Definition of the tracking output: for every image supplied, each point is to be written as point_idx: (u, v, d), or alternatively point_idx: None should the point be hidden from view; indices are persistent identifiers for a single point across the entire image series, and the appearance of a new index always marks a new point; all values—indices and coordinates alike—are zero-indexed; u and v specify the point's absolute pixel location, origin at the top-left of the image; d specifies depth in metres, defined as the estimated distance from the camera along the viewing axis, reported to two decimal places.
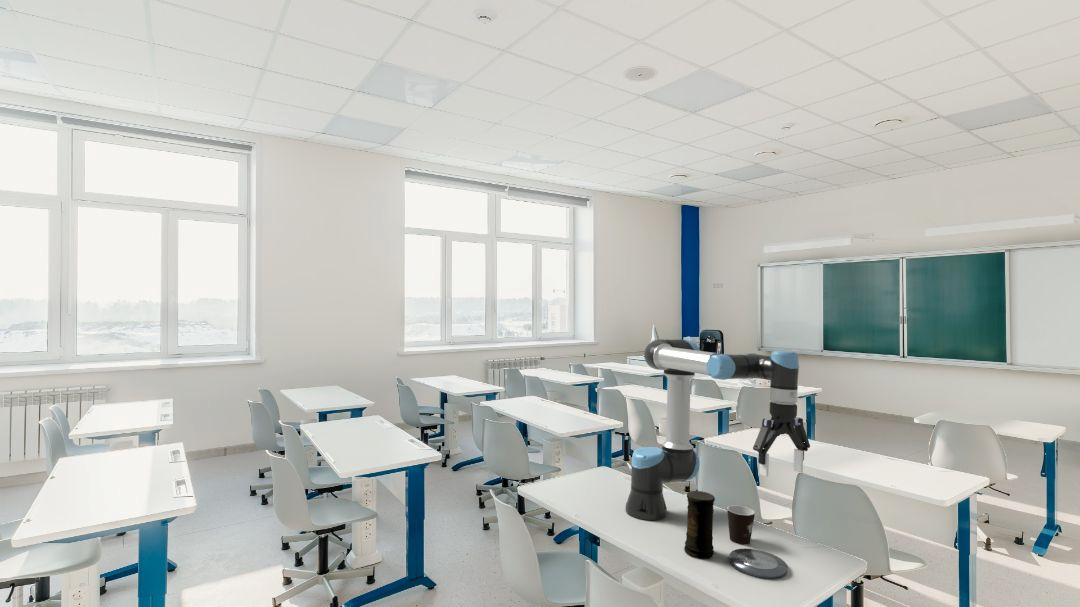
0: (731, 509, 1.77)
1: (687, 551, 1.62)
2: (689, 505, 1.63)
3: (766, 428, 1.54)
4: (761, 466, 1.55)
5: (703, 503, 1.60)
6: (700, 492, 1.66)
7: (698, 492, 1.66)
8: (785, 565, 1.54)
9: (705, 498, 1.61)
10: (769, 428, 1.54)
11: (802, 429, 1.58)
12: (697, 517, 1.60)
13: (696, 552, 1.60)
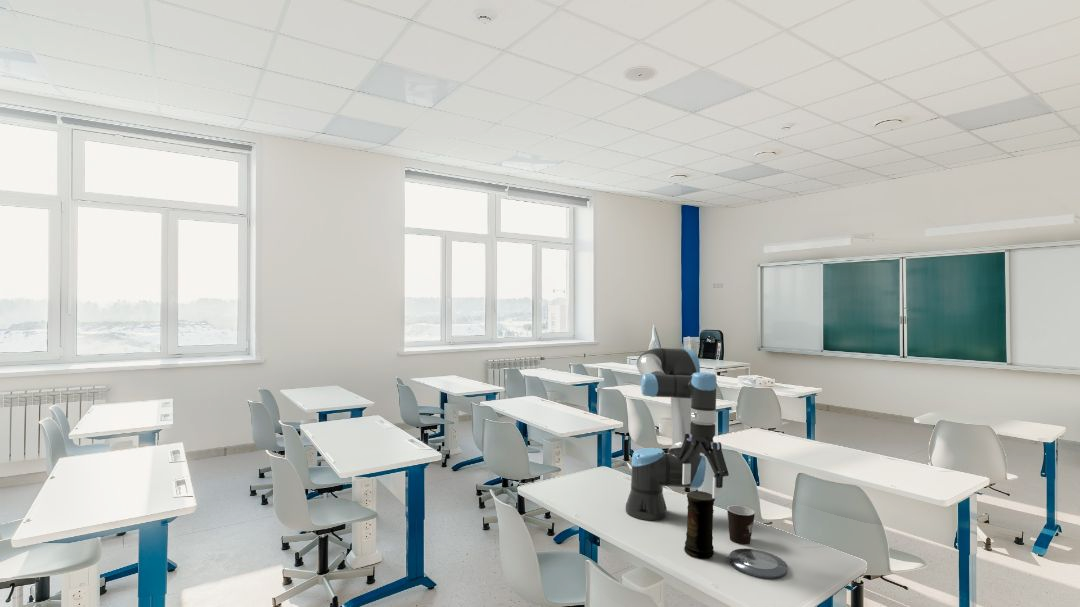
0: (731, 509, 1.77)
1: (687, 551, 1.62)
2: (689, 505, 1.63)
3: None
4: None
5: (703, 503, 1.60)
6: (700, 492, 1.66)
7: (698, 492, 1.66)
8: (785, 565, 1.54)
9: (705, 498, 1.61)
10: (685, 441, 1.69)
11: (714, 454, 1.57)
12: (697, 517, 1.60)
13: (696, 552, 1.60)
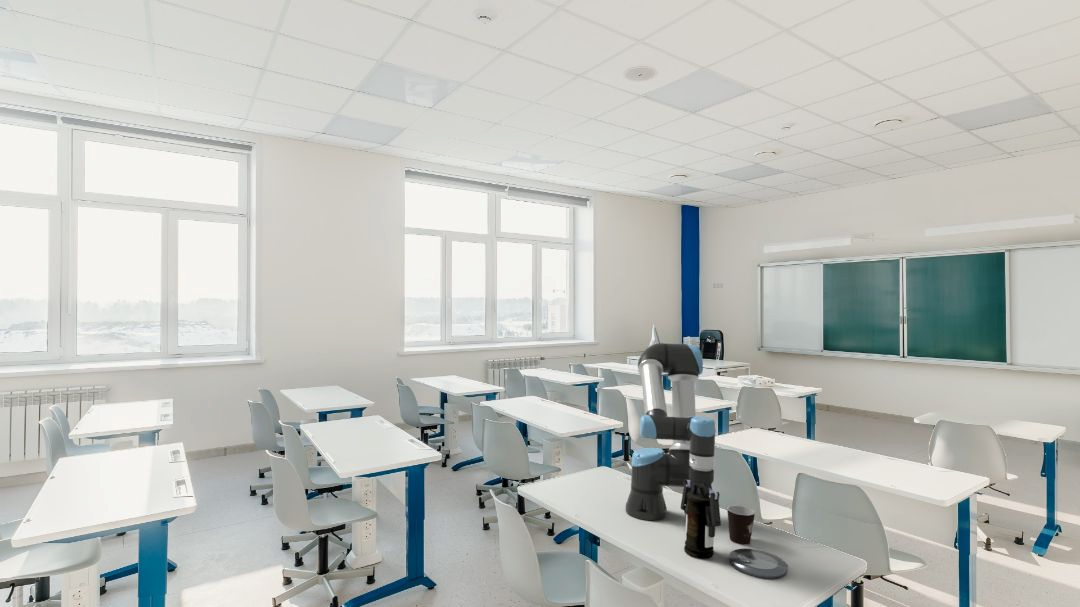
0: (731, 509, 1.77)
1: (687, 551, 1.62)
2: (689, 505, 1.63)
3: None
4: None
5: (703, 503, 1.60)
6: None
7: None
8: (785, 565, 1.54)
9: (705, 498, 1.61)
10: (684, 488, 1.69)
11: (711, 503, 1.58)
12: (697, 517, 1.60)
13: (696, 552, 1.60)
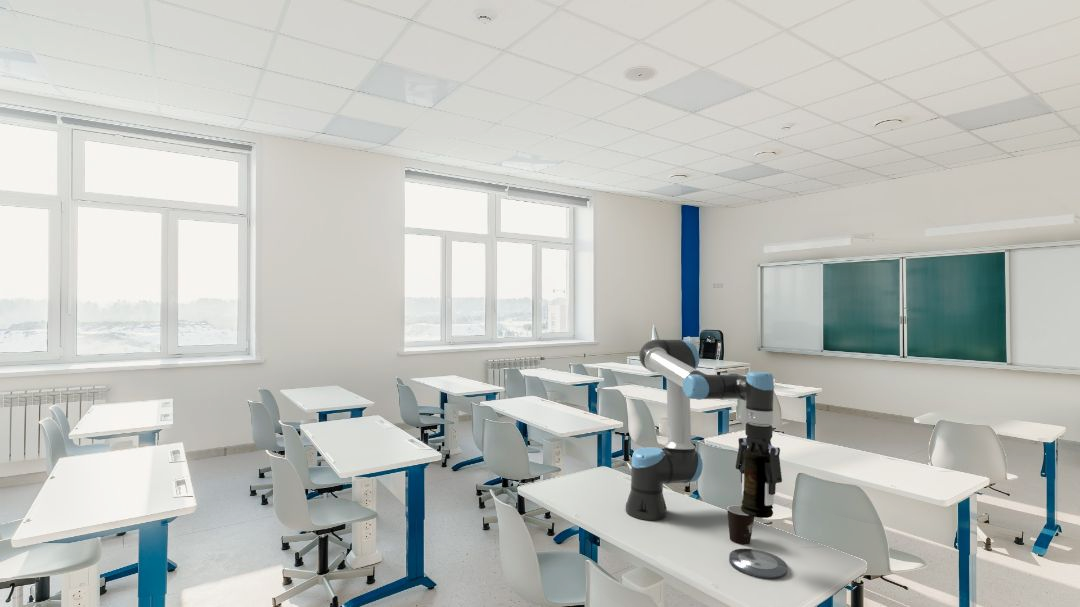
0: (731, 509, 1.77)
1: (745, 510, 1.55)
2: (746, 462, 1.56)
3: None
4: None
5: (762, 459, 1.53)
6: None
7: None
8: (785, 565, 1.54)
9: (764, 454, 1.54)
10: (740, 446, 1.62)
11: (771, 459, 1.51)
12: (756, 474, 1.53)
13: (755, 510, 1.53)
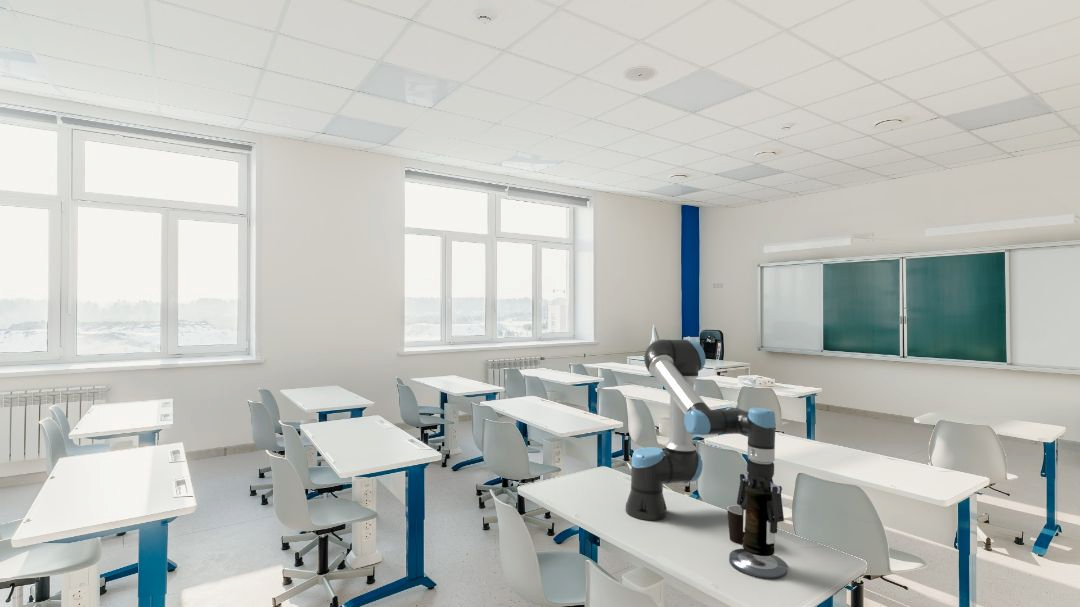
0: (731, 509, 1.77)
1: (746, 548, 1.55)
2: (748, 500, 1.56)
3: None
4: None
5: (764, 497, 1.53)
6: None
7: None
8: (785, 565, 1.54)
9: (766, 492, 1.54)
10: (741, 482, 1.62)
11: (773, 498, 1.51)
12: (757, 512, 1.53)
13: (757, 548, 1.53)
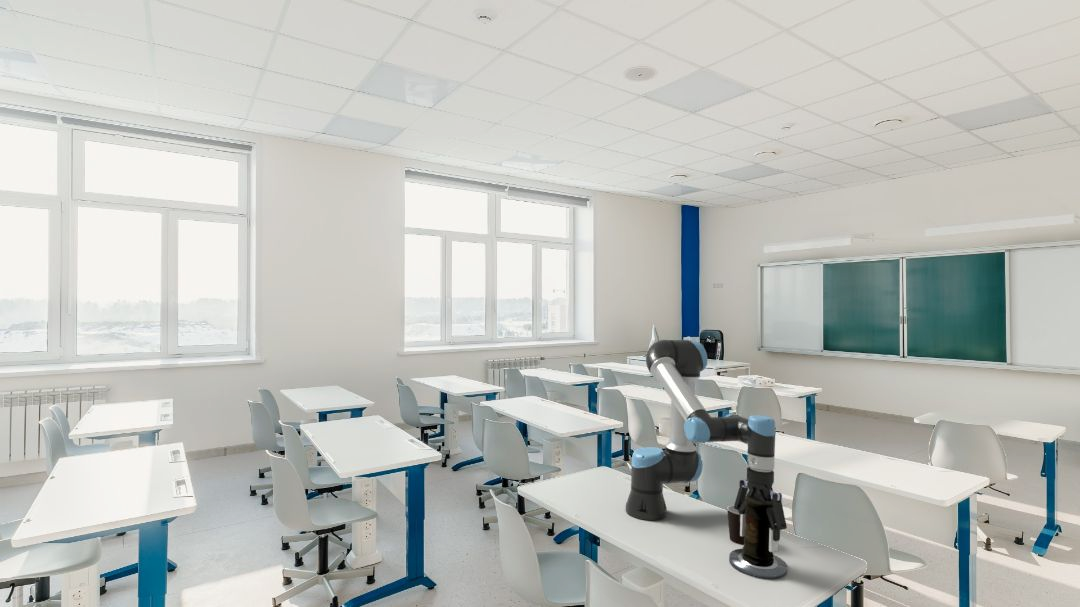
0: (731, 509, 1.77)
1: (746, 558, 1.55)
2: (748, 510, 1.56)
3: None
4: None
5: (764, 508, 1.53)
6: None
7: None
8: (785, 565, 1.54)
9: None
10: (740, 488, 1.62)
11: (774, 505, 1.50)
12: (757, 522, 1.53)
13: (756, 559, 1.53)
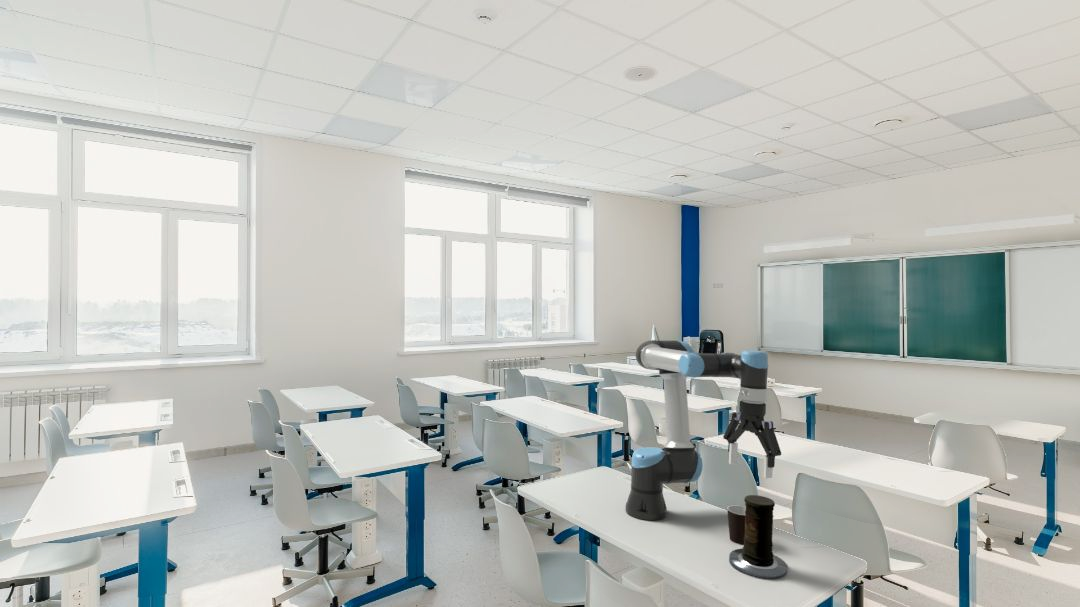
0: (731, 509, 1.77)
1: (746, 558, 1.55)
2: (747, 510, 1.56)
3: None
4: None
5: (763, 508, 1.53)
6: (758, 496, 1.59)
7: (756, 496, 1.59)
8: (785, 565, 1.54)
9: (765, 503, 1.54)
10: (732, 420, 1.65)
11: (766, 433, 1.53)
12: (757, 522, 1.53)
13: (756, 559, 1.53)
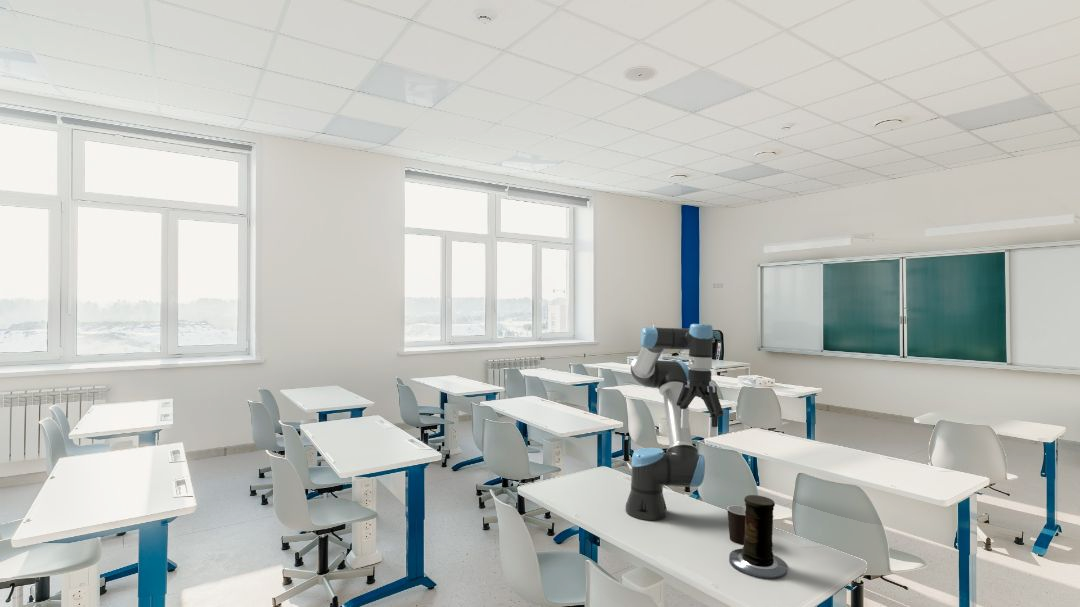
0: (731, 509, 1.77)
1: (746, 558, 1.55)
2: (747, 510, 1.56)
3: None
4: None
5: (763, 508, 1.53)
6: (758, 496, 1.59)
7: (756, 496, 1.59)
8: (785, 565, 1.54)
9: (765, 503, 1.54)
10: (683, 388, 1.83)
11: (710, 396, 1.71)
12: (757, 522, 1.53)
13: (756, 559, 1.53)
